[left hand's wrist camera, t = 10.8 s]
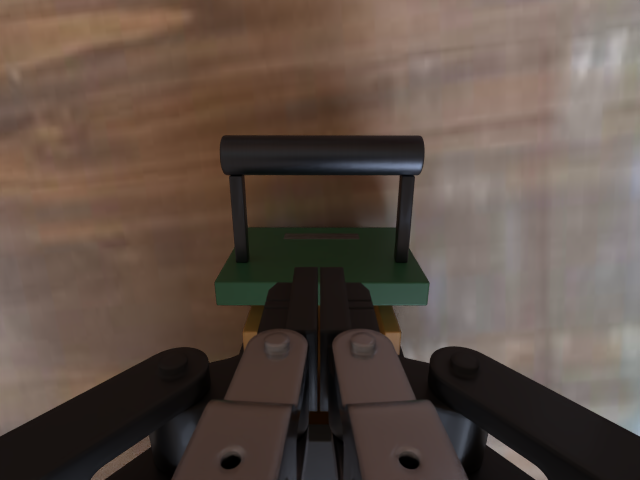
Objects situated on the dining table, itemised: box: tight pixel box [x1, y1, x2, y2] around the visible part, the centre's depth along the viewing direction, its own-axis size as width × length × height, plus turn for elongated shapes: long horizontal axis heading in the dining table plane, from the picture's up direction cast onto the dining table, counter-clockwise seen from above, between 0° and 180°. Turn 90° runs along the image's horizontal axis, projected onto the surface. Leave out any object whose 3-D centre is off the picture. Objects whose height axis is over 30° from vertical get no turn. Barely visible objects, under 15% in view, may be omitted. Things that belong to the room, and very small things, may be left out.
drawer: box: [215, 135, 429, 424], centre depth 23 cm, size 26×10×8 cm, turn 0°
